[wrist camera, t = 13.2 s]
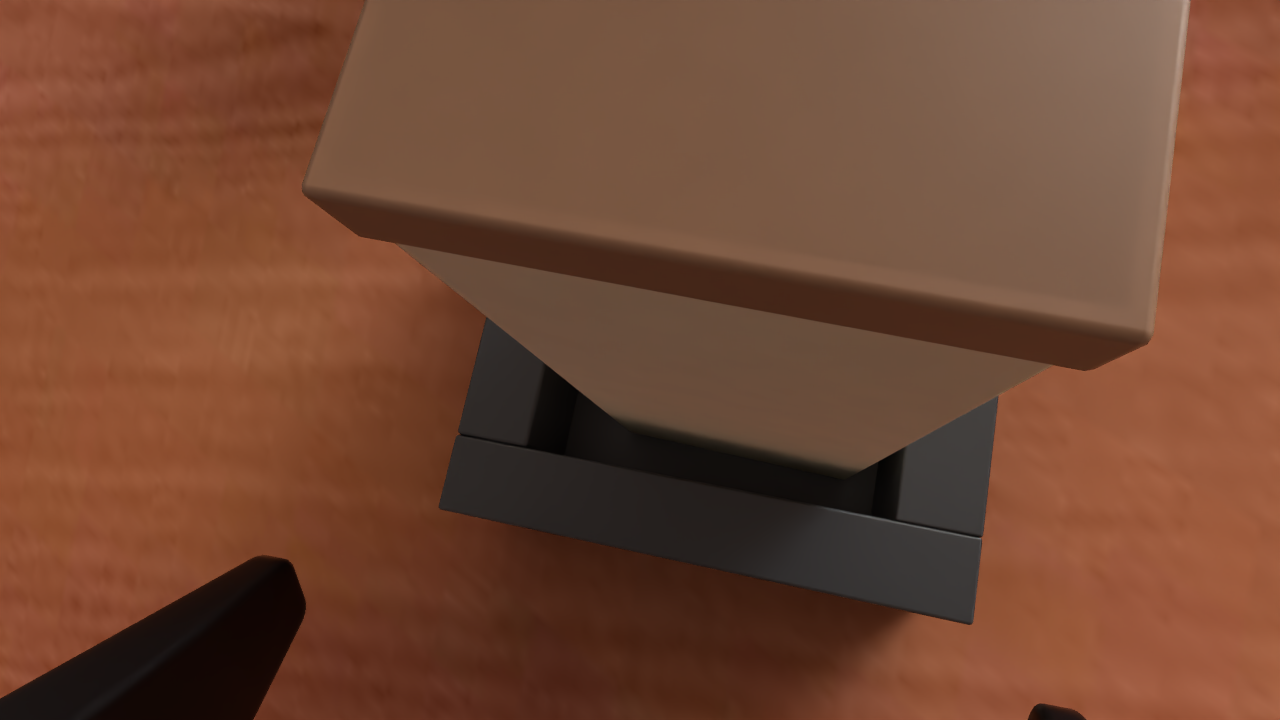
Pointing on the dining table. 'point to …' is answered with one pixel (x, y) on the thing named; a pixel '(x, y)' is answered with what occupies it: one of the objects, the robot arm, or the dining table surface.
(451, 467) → the dark grey square tray
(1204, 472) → the dining table surface
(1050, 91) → the tan rectangular block
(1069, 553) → the dining table surface
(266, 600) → the robot arm
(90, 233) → the dining table surface
